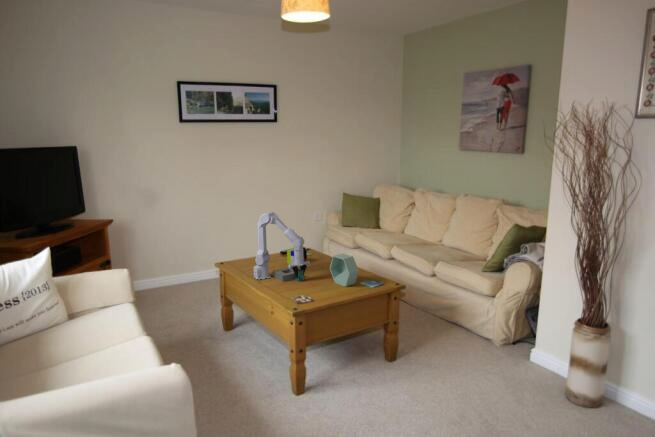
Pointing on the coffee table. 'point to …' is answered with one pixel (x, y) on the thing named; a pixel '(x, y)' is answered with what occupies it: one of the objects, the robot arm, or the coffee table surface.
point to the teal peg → (300, 275)
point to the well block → (284, 274)
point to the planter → (344, 269)
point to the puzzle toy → (291, 256)
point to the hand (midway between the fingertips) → (299, 277)
